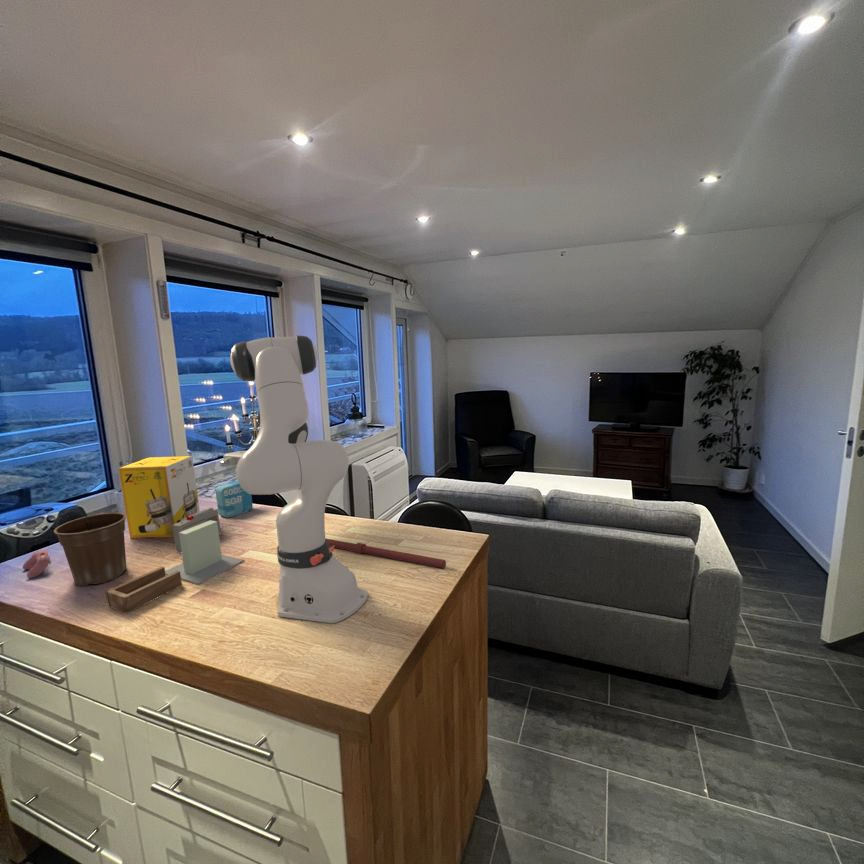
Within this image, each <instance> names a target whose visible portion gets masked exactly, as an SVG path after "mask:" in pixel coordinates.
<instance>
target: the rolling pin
mask: <svg viewBox="0 0 864 864" xmlns="http://www.w3.org/2000/svg"><path fill="white" fill-rule="evenodd" d="M326 539H327V541H328V543H329V546H330V547H332V546H334V545H335V548H334V549H340V550H345V551H351V552H354V553H355V554H358V553H359V554H358V555H363V554H365V555H367V554H368V555H370V556H371V555H373V556H377V557H383V558H388V559H394V560H400V561H402V562H403V561H404V562H408V563H409V562H410V563H415V564H421V565H425V566H430V567H436V568H439V569H445V567H446V566H447V561H446V559H443V558H436V557H431V556H425V555H419V554H414V553H410V552H403V551H398V550H393V549H392V550H391V549H388V548H387V549H386V548H382V547H381V548H380V547H374V546H369V545H367V544H366V543H363V542H362V543H361V542H357V543H354V542H349V541H342V540H338V539H337V540H336V539H331V538H326ZM362 553H363V554H362Z"/></svg>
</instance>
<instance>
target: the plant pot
mask: <svg viewBox="0 0 864 864" xmlns="http://www.w3.org/2000/svg"><path fill="white" fill-rule="evenodd" d="M125 520H127V516H126V513H122V512H105V513H97V514H92V515H88V516H83V517H79V518H76V519H73V520H70V521H67V522H65V523H63V524H61V525H58V526H57V527H56V528H54V530H53V533H54V535H56V536H57V539H58V541H59V544H60V546H62V549H63V551H64V555H65V557H66V561H67V563H68V566H69V569H70V573H71V575H72V579H73V582H74V584H75V585H76V586H81V587H85V586H86V587H88V586H89V585H91V584H95V585H98V584H102V583H106V582H109V581H111V580H114V579H116V578H118V577H119V576H122V575H123V574H124V572H125V571H127V567H128V566H127V556H126V543H125V531H126V521H125Z"/></svg>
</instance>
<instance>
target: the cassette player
mask: <svg viewBox="0 0 864 864" xmlns="http://www.w3.org/2000/svg"><path fill="white" fill-rule="evenodd" d="M219 517H220V515H219V514H218V508H213V507H212V506H210V507H207V508H205V509H203V510H200V512H198V513H195V514H193V515H190V516H188V517H187V519H186V520H184V521H181V522H179V523H176V524H174V525H172V526H173V533H174V537H173V538H174V539H173V540H174V545H175V552H176V551H177V552H176V553H181V552H182V551H181V544H180V537H179V532H182V531H184V530H187V529H189V528H192V527H194V526H197V525H200V524H202V523H205V522H207V521H210V520H212V521H217V524H218V532H219V535H221V534H222V533H221V531H222V530H221V525H220V518H219ZM220 533H221V534H220Z"/></svg>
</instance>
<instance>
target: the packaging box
mask: <svg viewBox="0 0 864 864" xmlns="http://www.w3.org/2000/svg"><path fill="white" fill-rule="evenodd" d="M118 471H119V478H120V485H121V491H122V494H123V495H122V497H123V503H124V508H125V515H126V520H127V526H128V527H127V528H128V533H129V538H130V539H141V538H140V537H154V538H174V533H173V526H172V525H174V524H176V523H179V522H181V521H184V520H186V519H187V517H188V516H190V515H193V514H195V513H198V512H200V511H201V509H200V503H199V495H198V488H197V482H196V474H195V466H194V460H193V455H185V456H182V455H181V456H179V455H178V456H157V457H156V456H152V457H147V458H143V459H141V460H139V461H136V462H132V463H130V464H127V465H124V466H122V467H118ZM137 537H138V538H137Z"/></svg>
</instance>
